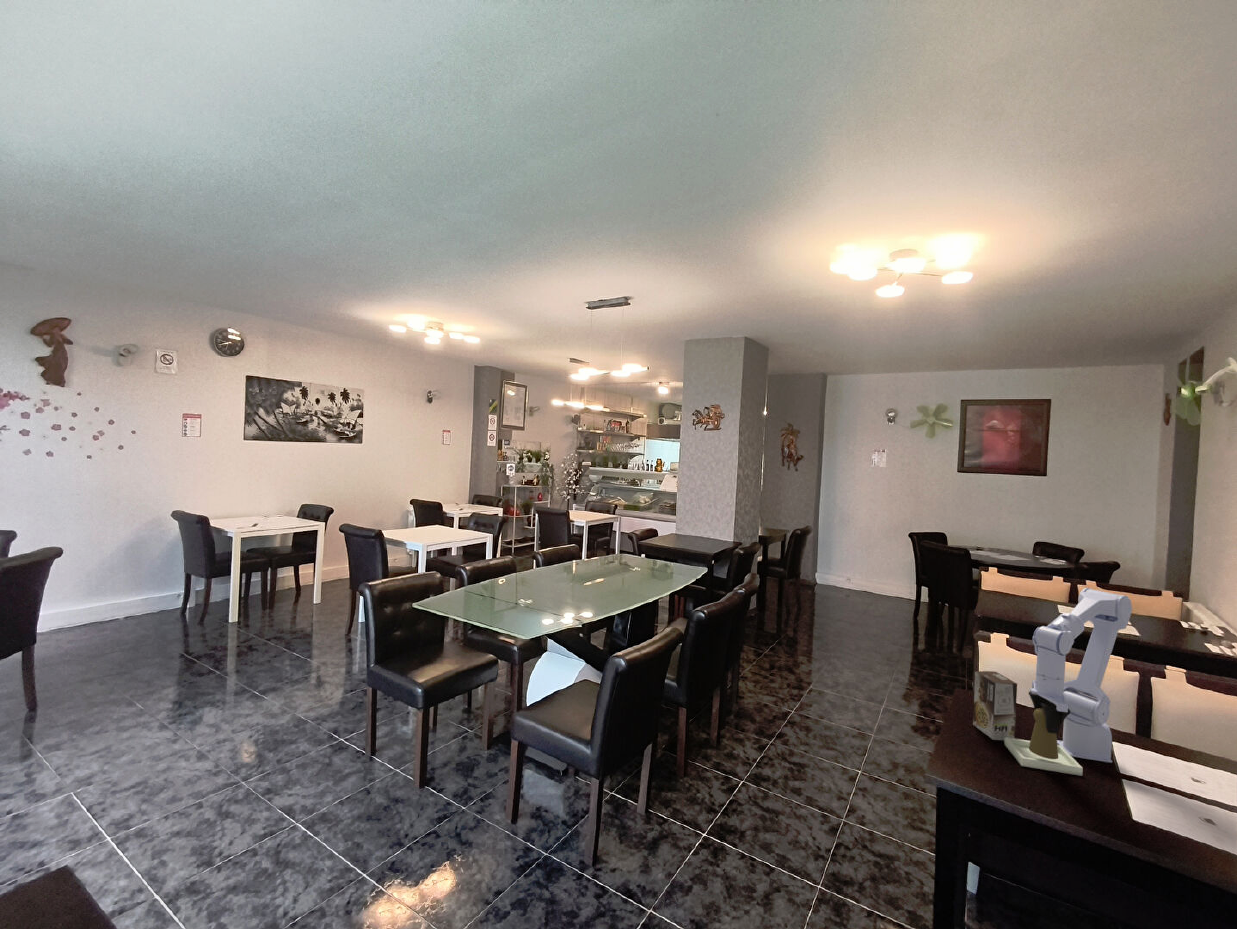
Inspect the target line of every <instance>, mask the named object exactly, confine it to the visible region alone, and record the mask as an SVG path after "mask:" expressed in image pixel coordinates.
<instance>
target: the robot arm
mask: <svg viewBox="0 0 1237 929" xmlns="http://www.w3.org/2000/svg"><path fill="white" fill-rule="evenodd" d="M1077 601H1078V603H1077V604H1076V606H1075V607H1074V608H1073V609H1072V610H1071V611H1070V612H1063V613H1061V614H1059V615H1058V617H1057V618H1055V619H1054V620H1052V622H1050V623H1048V625H1047V626H1045V625H1042V626H1038V627H1037V628H1036V629H1035V630H1034V632H1033V636H1032V643H1033V645H1034V654H1036V666H1035V668H1036V669H1035V671H1036V672H1035V680H1032V681H1031V688H1029V691H1028V695H1029V697H1030V699H1031V703H1032V704H1033V709H1034V710H1035V709H1037V708H1043V710H1044V714H1045V719H1046V728H1047V731H1048V732H1049V733H1054V734H1056V735H1058V734H1059V733H1060V730H1061V728H1062V724H1063V730H1062V740H1058V739H1057V745H1060V746H1061V747H1062V748H1063V749H1064V750H1065V751H1066V752H1067V753H1068V754H1069V755H1070V756H1071V757H1072V758H1080V759H1084V760H1085V759H1086V760H1091V761H1092V760H1093V761H1099V762H1103V763H1111V764H1112V763H1113V760H1112V759H1111V758H1112V746H1113V745H1112V741H1113V736H1112V730H1111V729H1110V727H1109V725H1108V724H1107V722H1108V720H1109V716H1110V706H1111V699H1110V698H1109V696H1108V695H1107V694H1106V693H1105V691H1103V689H1102V688H1101V686H1102V683H1103V681H1104V678H1105V674H1106V670H1107V667H1108V663H1109V661H1110V658H1111V654H1112V652H1113V650H1114V646H1115V642H1116V639H1117V637H1118V632H1119V631H1120V630H1125V629H1127V626H1128V624H1129V622H1130V618H1131V616H1132V612H1133V607H1132V605H1133V603H1132V601H1131V599H1130V597H1129V596H1127V595H1126V594H1125V595H1124V594H1116V593H1112V592H1107V591H1102V590H1096V589H1093V588H1089V587H1085V588H1083V589H1082V590H1081V591H1080V592H1079V595H1078V600H1077ZM1087 622H1090V623H1092V624H1093V629H1092V632H1091V634H1090V638H1089V640H1088V644H1087V647H1086V651H1085V653H1084V656H1083V659H1082V662H1081V665H1080V668H1079V672H1078V673H1077V676H1076V679H1072V680H1068V681H1065V674H1066V673H1065V672H1066V658H1067V657H1066V655H1068V654H1069V653H1070V651H1071V649H1072V646H1073V645H1074V643H1075V639H1077V637H1078V636H1080V635H1081V634H1082V633H1083V632H1084V630H1085V624H1086V623H1087Z"/></svg>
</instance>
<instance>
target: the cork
mask: <svg viewBox="0 0 1237 929" xmlns="http://www.w3.org/2000/svg"><path fill="white" fill-rule="evenodd" d="M1033 718H1034V720H1035V722H1034V725H1033V726H1034V727H1033V730H1032V735H1031V739H1030V740H1029V741H1030V745H1029V750H1030V751H1031V752H1033V753H1034V754H1036V755H1038V756H1041V757H1044V758H1048V759H1058V747H1057V745H1058V744H1057V740H1058V737H1057V735H1058V734H1054V733H1049V732H1048V731H1047V728H1046V719H1045V714H1044V710H1043V708H1037V709H1034V710H1033Z"/></svg>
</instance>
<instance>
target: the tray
mask: <svg viewBox="0 0 1237 929" xmlns="http://www.w3.org/2000/svg"><path fill="white" fill-rule="evenodd" d="M1030 741H1031V740H1027V739H1026V740H1025V739H1021V738H1015V737H1014V738H1008V737H1005V739H1004V740H1003V742H1004V744H1003V745H1004V746H1005V747H1006V748H1007V749H1008V751H1009V752H1010V753H1011V755H1012V756H1013V757H1014V758H1015V759H1016V761H1017V762H1018V763H1019V765H1020V766H1021V767H1026V768H1031V769H1040V770H1045V771H1050V772H1056V773H1057V772H1058V773H1062V774H1069V775H1074V776H1075V775H1076V776H1081V777H1082V776H1083V771H1084V770H1083V766H1082V765H1080V764H1079V762H1077V760H1076V759H1075V758H1074V757H1072V756H1070V755H1069V754H1068V753H1067V752H1066V751H1065V750H1064V749H1063V748H1062V747H1061V746H1060V745H1058V744H1057V747H1058V759H1048V758H1044V757H1041V756H1038V755H1036V754H1034V753H1033V752H1031V751H1030V750H1029V745H1030Z"/></svg>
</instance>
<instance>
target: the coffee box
mask: <svg viewBox="0 0 1237 929" xmlns="http://www.w3.org/2000/svg"><path fill="white" fill-rule="evenodd" d="M1017 693H1018V683H1017V682H1015V681H1013V680H1011V679H1009V678H1008V677H1006V676H1004V675H1003V674H1000V673H998V671H991V670H990V671H989V670H987V671H986V670H985V671H979V670H975V671H974V694H973V718H972V720H973V721H972V725H973V726H974V727H975V728H977V729H978V730H980V732H982V733H983V734H984V735H986V736H987V737H989V738H990V739H991V740H993V741H1004V739H1005V737H1008V738H1014V739H1015V738H1016V736H1015V735H1016V734H1015V731H1016V715H1017V714H1016V713H1017V696H1018V694H1017Z"/></svg>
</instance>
